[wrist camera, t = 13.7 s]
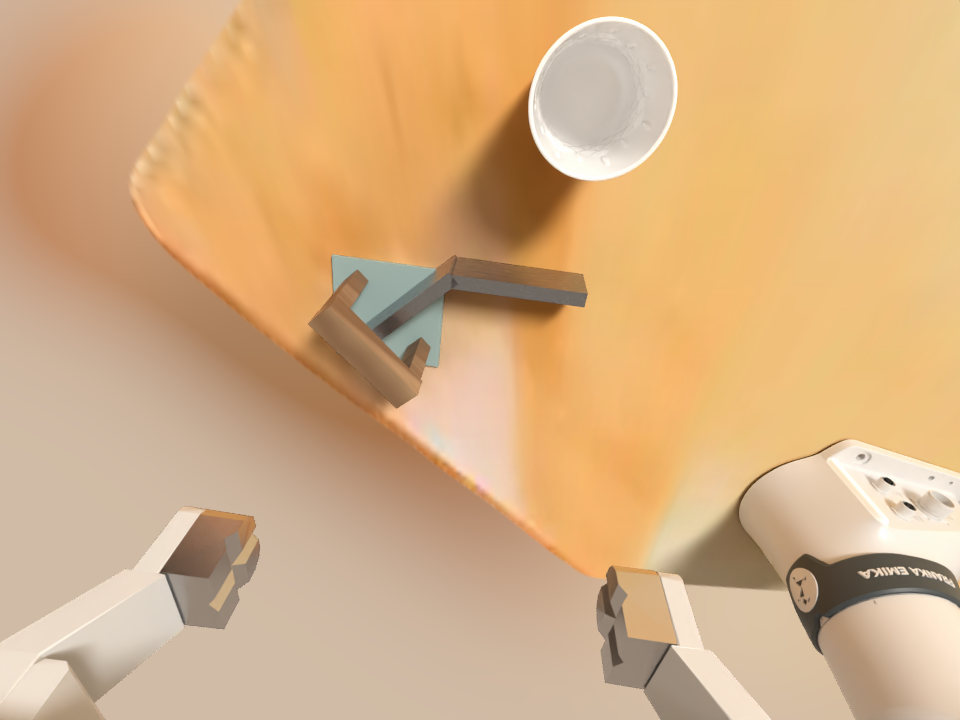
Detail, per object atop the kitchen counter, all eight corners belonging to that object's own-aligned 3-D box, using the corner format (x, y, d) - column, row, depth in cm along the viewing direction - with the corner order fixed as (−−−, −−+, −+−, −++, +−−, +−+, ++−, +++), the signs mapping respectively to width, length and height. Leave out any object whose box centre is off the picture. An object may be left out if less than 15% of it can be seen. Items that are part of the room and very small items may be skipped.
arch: (359, 267, 43) (329, 307, 36) (433, 345, 47) (417, 395, 40) (341, 282, 44) (307, 324, 37) (414, 358, 48) (396, 408, 41)
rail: (583, 272, 42) (588, 291, 39) (562, 357, 47) (565, 381, 43) (364, 242, 42) (350, 259, 39) (366, 330, 47) (353, 351, 43)
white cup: (655, 37, 33) (700, 31, 24) (620, 160, 37) (649, 191, 29) (539, 17, 33) (545, 3, 24) (518, 143, 37) (516, 169, 29)
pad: (446, 270, 43) (445, 271, 43) (438, 365, 48) (438, 367, 48) (332, 254, 43) (331, 255, 43) (337, 351, 48) (336, 353, 48)
